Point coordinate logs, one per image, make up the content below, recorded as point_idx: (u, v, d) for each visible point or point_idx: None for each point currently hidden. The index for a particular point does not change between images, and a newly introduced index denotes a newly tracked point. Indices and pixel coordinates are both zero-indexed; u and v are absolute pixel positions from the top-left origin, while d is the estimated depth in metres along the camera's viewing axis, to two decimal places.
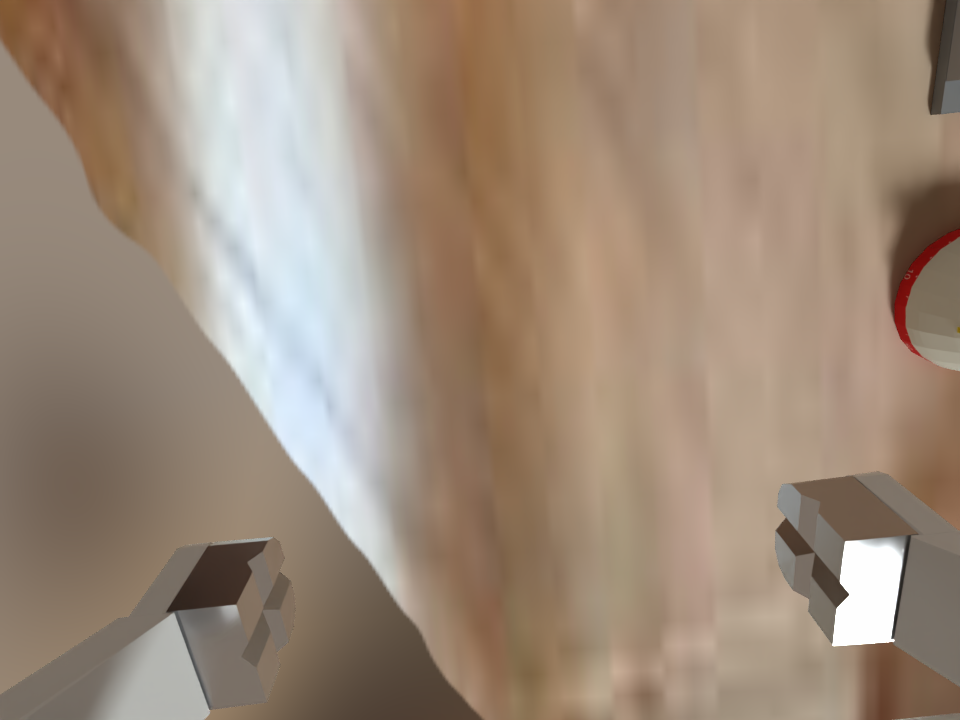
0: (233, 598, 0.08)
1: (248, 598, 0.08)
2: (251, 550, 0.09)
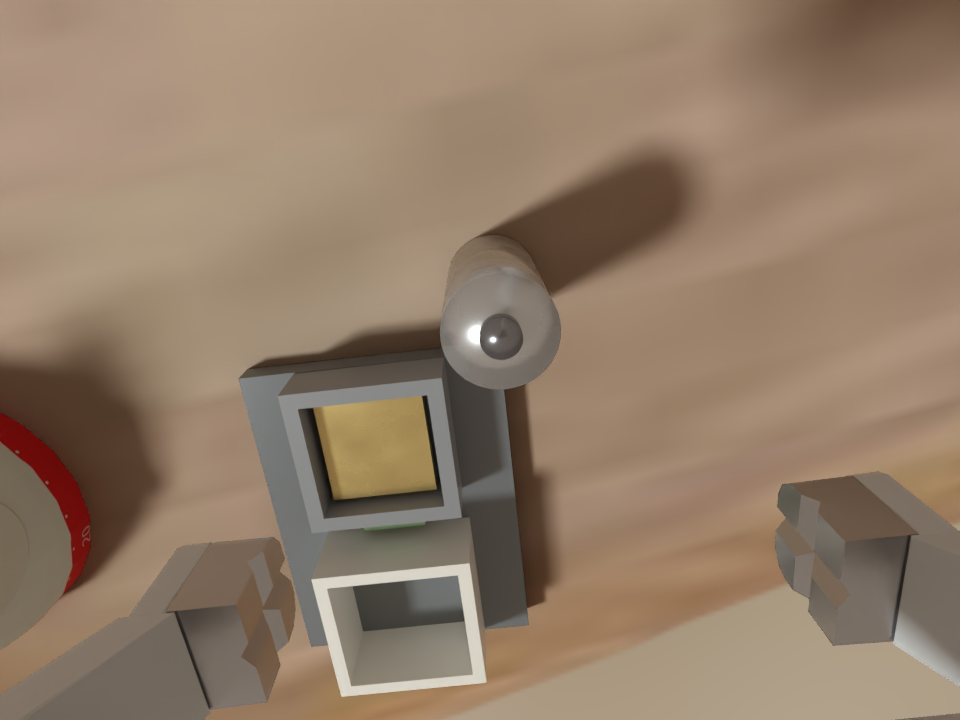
0: (232, 598, 0.08)
1: (248, 598, 0.08)
2: (250, 550, 0.09)
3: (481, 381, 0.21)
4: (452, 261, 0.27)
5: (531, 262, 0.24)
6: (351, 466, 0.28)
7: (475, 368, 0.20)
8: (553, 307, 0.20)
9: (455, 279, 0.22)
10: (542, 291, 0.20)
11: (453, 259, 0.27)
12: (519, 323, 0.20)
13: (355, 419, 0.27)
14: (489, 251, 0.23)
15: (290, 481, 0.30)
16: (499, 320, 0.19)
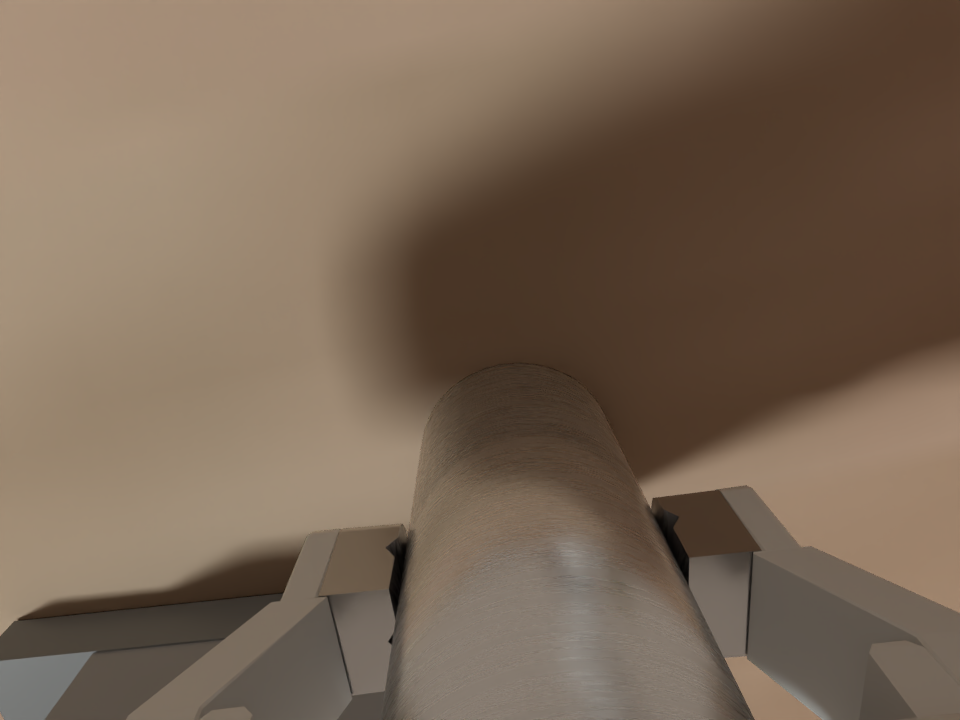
0: (383, 583, 0.08)
1: (393, 583, 0.08)
2: (384, 536, 0.09)
3: None
4: (429, 426, 0.12)
5: (625, 468, 0.10)
6: None
7: None
8: None
9: (424, 593, 0.07)
10: None
11: (432, 422, 0.12)
12: None
13: None
14: (522, 464, 0.08)
15: None
16: None
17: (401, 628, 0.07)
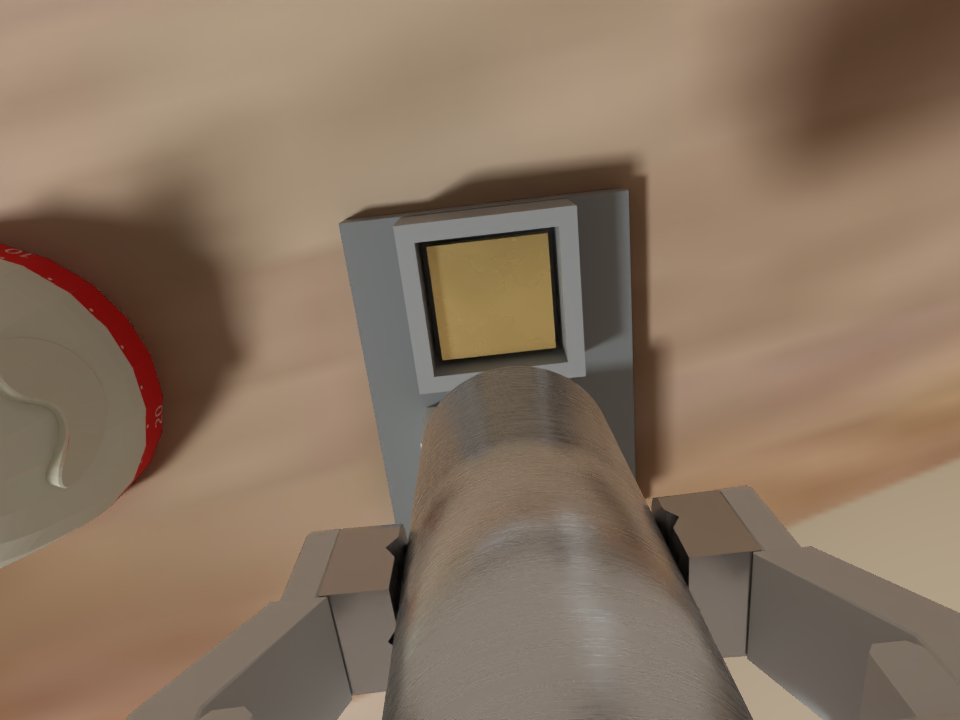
0: (383, 583, 0.08)
1: (393, 583, 0.08)
2: (385, 536, 0.09)
3: None
4: (429, 429, 0.12)
5: (625, 471, 0.10)
6: (463, 319, 0.25)
7: None
8: None
9: (425, 598, 0.07)
10: None
11: (432, 425, 0.12)
12: None
13: (472, 263, 0.24)
14: (523, 468, 0.08)
15: (388, 347, 0.27)
16: None
17: (402, 633, 0.07)
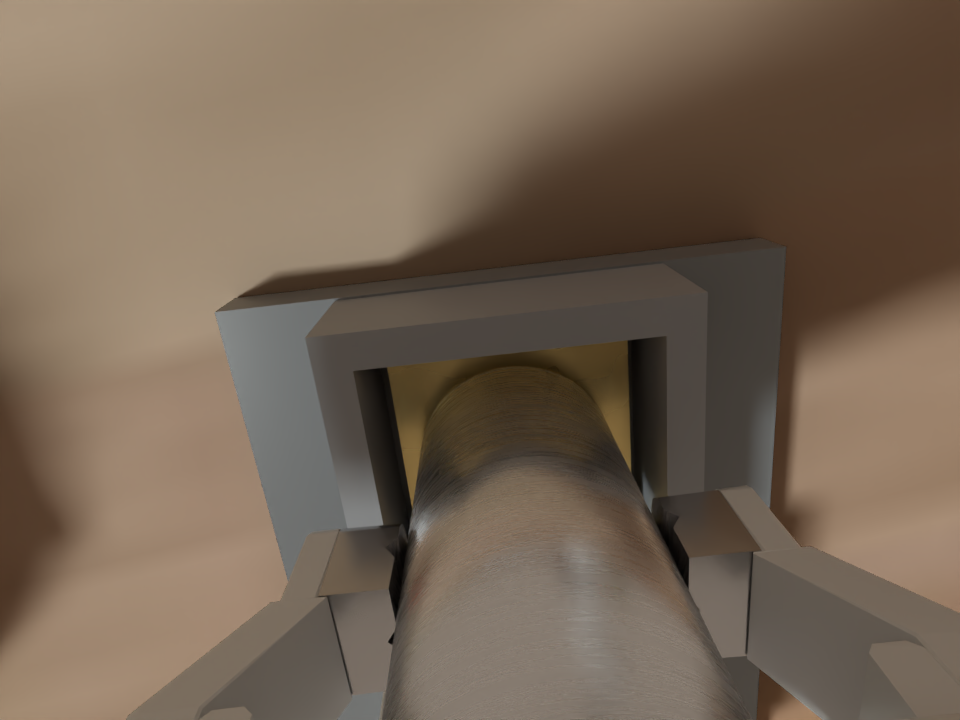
0: (384, 583, 0.08)
1: (393, 582, 0.08)
2: (385, 536, 0.09)
3: None
4: (429, 429, 0.12)
5: (625, 472, 0.10)
6: None
7: None
8: None
9: (425, 598, 0.07)
10: None
11: (431, 425, 0.12)
12: None
13: None
14: (523, 469, 0.08)
15: (322, 528, 0.15)
16: None
17: (401, 634, 0.07)
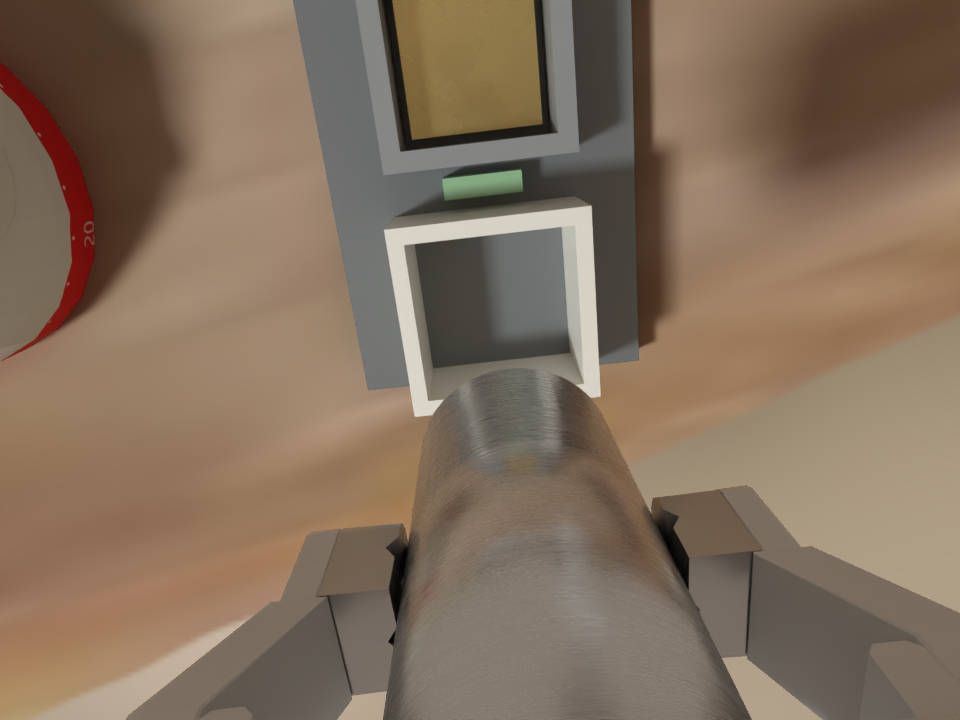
0: (383, 583, 0.08)
1: (393, 583, 0.08)
2: (385, 536, 0.09)
3: None
4: (430, 431, 0.12)
5: (626, 474, 0.10)
6: (435, 86, 0.22)
7: None
8: None
9: (426, 602, 0.07)
10: None
11: (432, 427, 0.12)
12: None
13: (445, 11, 0.21)
14: (523, 471, 0.08)
15: (350, 138, 0.23)
16: None
17: (402, 637, 0.07)
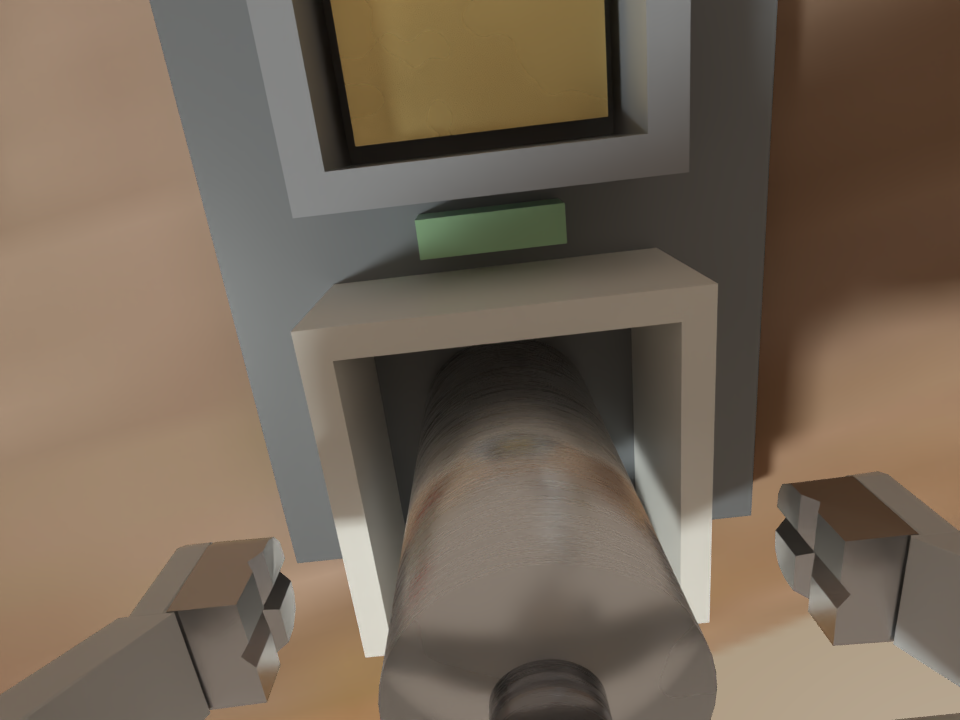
0: (233, 598, 0.08)
1: (248, 598, 0.08)
2: (250, 550, 0.09)
3: None
4: (432, 390, 0.14)
5: (596, 417, 0.11)
6: (399, 40, 0.11)
7: None
8: (701, 645, 0.07)
9: (428, 501, 0.09)
10: (673, 609, 0.07)
11: (434, 386, 0.14)
12: (602, 684, 0.07)
13: None
14: (508, 409, 0.10)
15: (244, 143, 0.12)
16: (550, 711, 0.06)
17: (410, 530, 0.09)
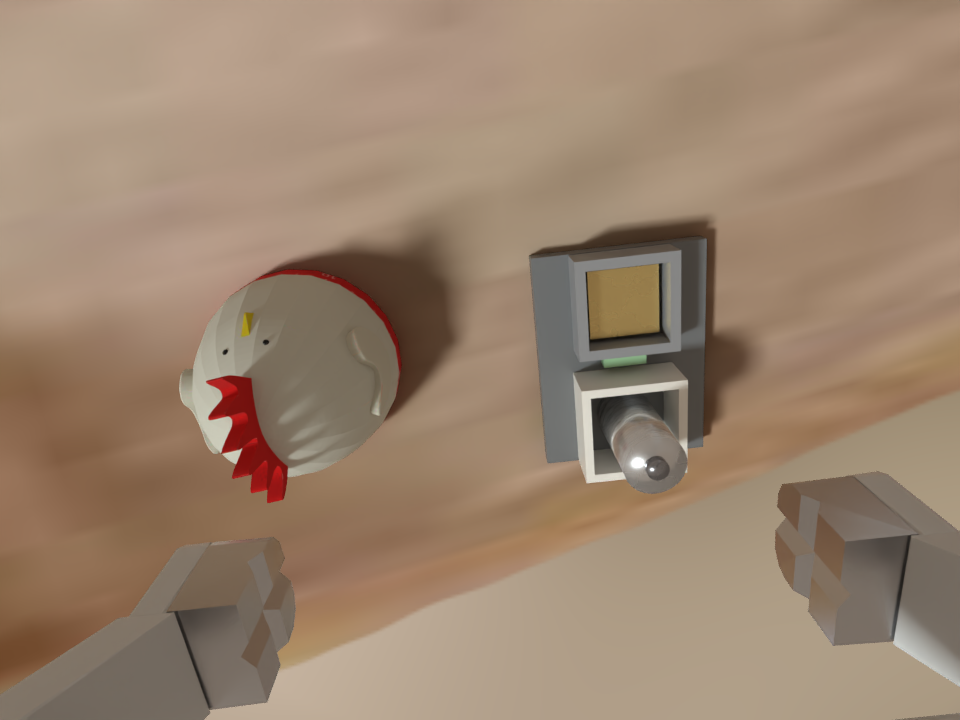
0: (233, 598, 0.08)
1: (248, 598, 0.08)
2: (250, 550, 0.09)
3: (643, 489, 0.39)
4: (602, 405, 0.44)
5: (656, 412, 0.42)
6: (605, 314, 0.42)
7: (640, 483, 0.38)
8: (684, 452, 0.38)
9: (623, 431, 0.40)
10: (679, 445, 0.37)
11: (603, 404, 0.44)
12: (666, 460, 0.38)
13: (613, 281, 0.41)
14: (636, 410, 0.41)
15: (553, 334, 0.43)
16: (658, 461, 0.37)
17: (619, 437, 0.40)
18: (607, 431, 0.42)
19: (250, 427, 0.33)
